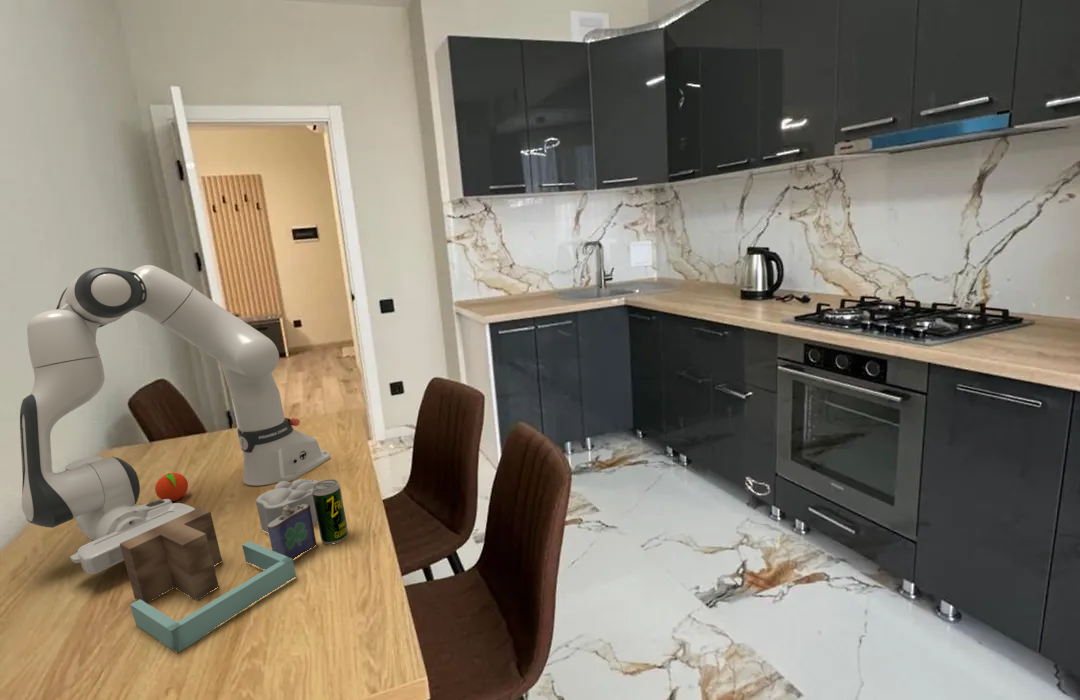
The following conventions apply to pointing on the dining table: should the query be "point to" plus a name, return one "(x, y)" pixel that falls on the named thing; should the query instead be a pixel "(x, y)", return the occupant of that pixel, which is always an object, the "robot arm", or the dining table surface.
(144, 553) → the t block
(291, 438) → the robot arm
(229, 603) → the fence
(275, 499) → the grey bumpy block
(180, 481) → the clementine
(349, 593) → the dining table surface
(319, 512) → the beer can
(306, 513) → the flask
